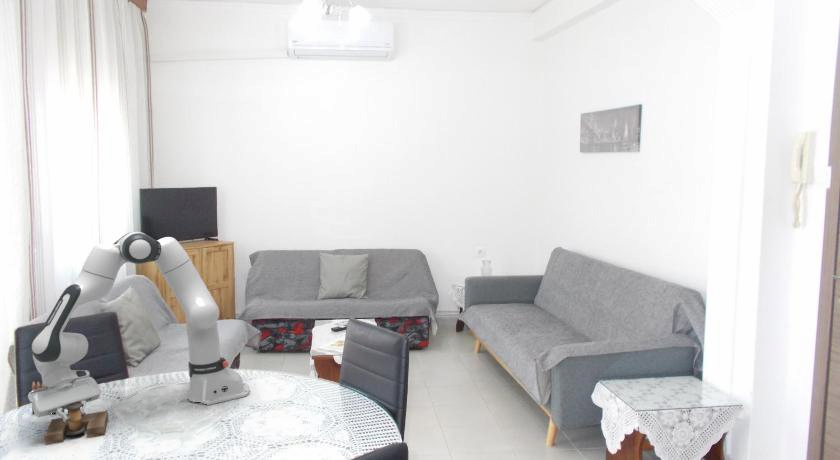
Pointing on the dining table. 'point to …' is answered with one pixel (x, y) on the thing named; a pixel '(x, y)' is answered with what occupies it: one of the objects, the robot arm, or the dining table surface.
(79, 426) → the bobbin
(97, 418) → the notched board
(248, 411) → the dining table surface
